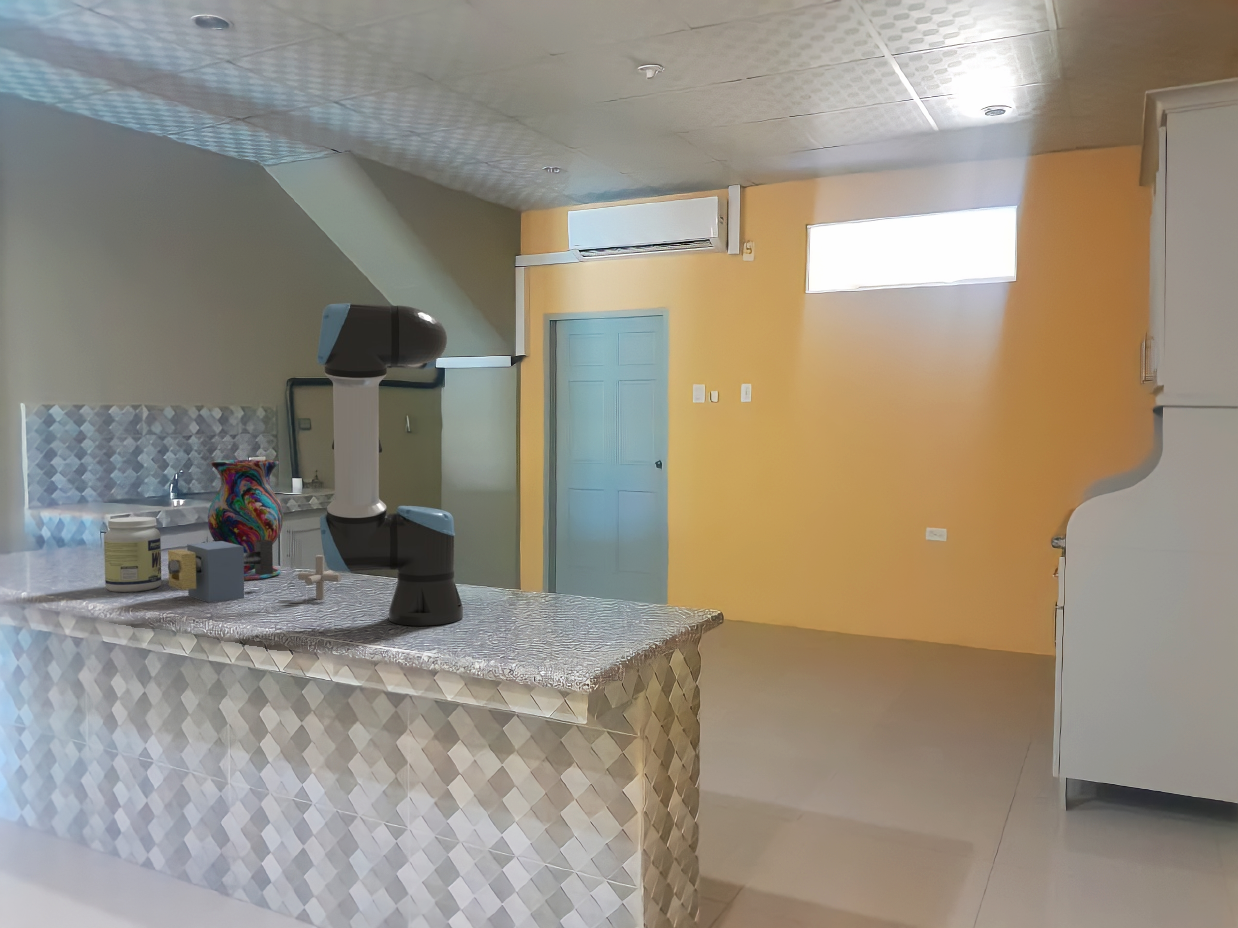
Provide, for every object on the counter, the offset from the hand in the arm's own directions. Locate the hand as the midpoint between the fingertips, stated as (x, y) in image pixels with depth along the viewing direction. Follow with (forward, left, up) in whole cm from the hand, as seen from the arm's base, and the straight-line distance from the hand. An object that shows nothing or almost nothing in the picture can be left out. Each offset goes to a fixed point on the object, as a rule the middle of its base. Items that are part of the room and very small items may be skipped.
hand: (356, 480), depth 229 cm
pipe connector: (-8, +14, -26) cm, 31 cm away
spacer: (+11, +38, -19) cm, 43 cm away
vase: (+33, +13, -26) cm, 44 cm away
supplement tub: (+35, +40, -26) cm, 60 cm away
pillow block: (+11, +30, -26) cm, 41 cm away
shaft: (+11, +29, -22) cm, 38 cm away
